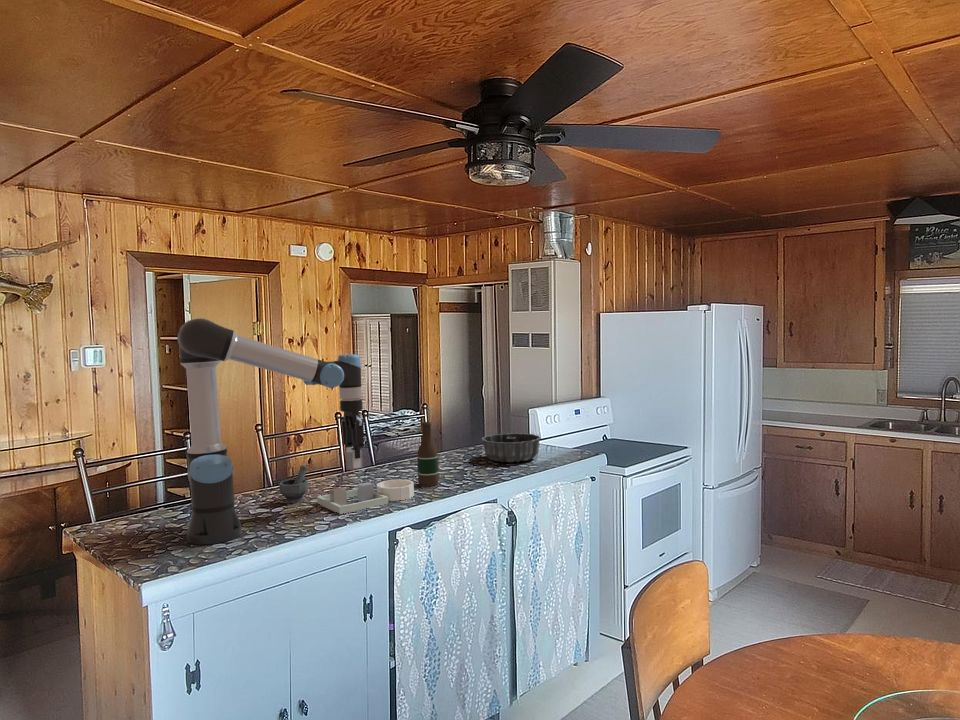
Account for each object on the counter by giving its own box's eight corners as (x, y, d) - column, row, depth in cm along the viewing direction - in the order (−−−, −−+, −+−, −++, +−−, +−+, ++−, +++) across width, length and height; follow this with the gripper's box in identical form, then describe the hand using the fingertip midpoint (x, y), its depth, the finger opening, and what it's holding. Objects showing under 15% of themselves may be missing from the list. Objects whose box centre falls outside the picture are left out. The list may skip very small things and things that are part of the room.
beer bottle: (442, 484, 249) (440, 421, 248) (427, 488, 244) (425, 424, 242) (429, 481, 255) (427, 420, 253) (414, 485, 249) (411, 422, 248)
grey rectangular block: (351, 469, 223) (350, 452, 222) (346, 468, 225) (345, 451, 225) (362, 467, 225) (361, 450, 225) (358, 466, 228) (357, 449, 228)
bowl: (389, 503, 224) (388, 490, 224) (370, 496, 235) (370, 483, 234) (420, 496, 232) (420, 483, 232) (401, 489, 243) (401, 477, 242)
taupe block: (334, 509, 219) (334, 491, 219) (330, 507, 222) (329, 489, 222) (347, 506, 222) (346, 489, 222) (342, 504, 225) (341, 487, 224)
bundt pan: (486, 453, 307) (485, 432, 306) (542, 453, 303) (541, 432, 303) (478, 465, 281) (477, 442, 280) (539, 465, 277) (539, 442, 277)
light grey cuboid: (362, 503, 226) (361, 486, 225) (358, 501, 228) (357, 484, 228) (374, 500, 228) (373, 483, 228) (369, 498, 231) (368, 482, 231)
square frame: (340, 514, 213) (339, 507, 213) (317, 503, 227) (316, 496, 227) (388, 503, 224) (388, 496, 224) (363, 494, 238) (363, 487, 238)
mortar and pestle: (292, 506, 224) (291, 471, 224) (274, 502, 229) (272, 469, 229) (317, 498, 234) (315, 465, 233) (299, 495, 239) (297, 463, 238)
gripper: (372, 399, 220) (375, 468, 221) (350, 396, 233) (352, 461, 234) (352, 402, 215) (355, 472, 216) (330, 398, 228) (333, 465, 229)
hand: (354, 466), depth 225 cm, fingers closed on grey rectangular block, 3 cm apart
